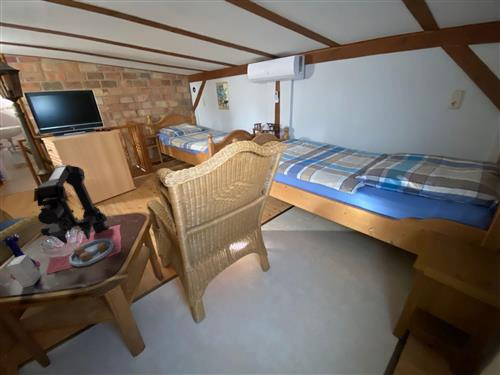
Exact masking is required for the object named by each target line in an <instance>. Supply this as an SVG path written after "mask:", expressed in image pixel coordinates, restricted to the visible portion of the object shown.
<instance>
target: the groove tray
mask: <svg viewBox="0 0 500 375" xmlns="http://www.w3.org/2000/svg"><path fill="white" fill-rule="evenodd" d="M102 242H106V243H107V245H108V250H106V251H105V252H104V253H100V252H99V250H98V248H97V245H98V244H100V243H102ZM81 246H83V247H84V249H85V251H86V252H87V251H89V252H90V254H91V256H92V257H93V259H91V260H89V261H84V262H82V260H81V259H80V257H76V255H75V254H74V252H71V254H70V255H69V256H68V261H69V265H70V266H73V267H76V268H79V267H84V266H85V267H86V266H89V265H92V264H93V263H96V262H98V261H100V260H102V259H104V257H107V256H108V255H109V254H110V253H111V252H112V251H113V248H114V247H115V245H114V243H113V240H112V238H107V237H101V238H98V239H93V240H91V241H88V242H86V243H84V244H82V245H81Z"/></svg>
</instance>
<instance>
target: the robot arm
mask: <svg viewBox="0 0 500 375" xmlns="http://www.w3.org/2000/svg"><path fill="white" fill-rule="evenodd" d="M85 178H86V176H85V170H84V169H83V168H82V167H80V166H76V165H75V166H74V165H70V164H61V165H60V164H59V165H57V166H55V168H54V171H53V172H52V174H51V176H50V177H49V179H48V180H47V181H45V182H43V183H40V185H39V186H37V188H36V192H35V193H36V200H37V206H38V207H41V208H40V209H39V210H40V213H39V214H38V217H37V219H38V221H39V222H40V223H42V224H44V225H45V226H43V227H42V228H41V229H40V234H41V235H42V236H43V237H45V236H46V237H53V238H55V239H58V241H60V242H61V243H64V244H67V243H68V239H67V237H66V235H67V233H68V232H70V231H72V228H74V227H79V229H80V231H81V232H83V235H84V236H85V238H86V239H87V240H90V239H91V230H92V228H93V230H94V233H95V234H100V233H102V232H103V231H107V230H109V228H110V226H109V225H106V221H107V220H108V218H107V214H105V213H103V212H102V211H101V210H100V208H99V207H98V206H97V207H96V206H95V204H94V202H93V200H92V198H91V196H90V194H89V191H88V190H87V187H86V186H85ZM65 183H66V184H68V185H70V186H71V187H72V188H73V190H74V192H75V194H76V196H77V198H78V200H79V203H80V204H81V206H82V208H83V215H82V219H81V220H80V221H79V219H78V217H77V216H76V217H75V215H74V212H75V211H74V209H71V208H70V205H69V204H68V202H67V200H66V197H67V196H66V188H65V187H64V184H65Z"/></svg>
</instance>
